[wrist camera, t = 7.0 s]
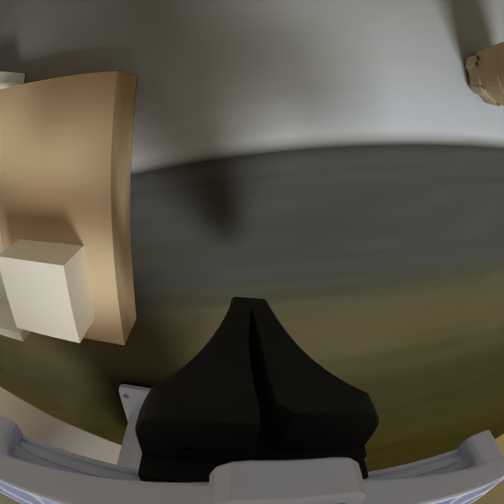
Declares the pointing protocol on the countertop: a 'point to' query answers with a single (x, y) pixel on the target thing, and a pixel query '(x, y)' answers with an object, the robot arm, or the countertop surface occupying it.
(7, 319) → the tray
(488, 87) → the handle
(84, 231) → the oak board
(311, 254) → the countertop surface
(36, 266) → the cream tile
